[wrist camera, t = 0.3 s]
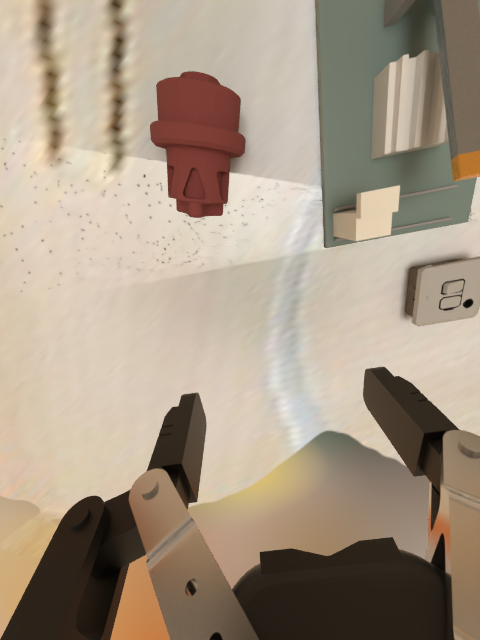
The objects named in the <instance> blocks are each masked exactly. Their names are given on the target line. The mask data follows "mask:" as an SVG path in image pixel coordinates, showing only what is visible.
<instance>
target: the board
mask: <svg viewBox="0 0 480 640" xmlns="http://www.w3.org/2000/svg"><path fill="white" fill-rule="evenodd" d="M478 6H479V16H480V0H478ZM316 28H317V57H318V86H319V114H320V143H321V171H322V200H323V229H324V247H325V248H330V247H335V246H340V245H346V244H351V243H356V242H362V241H367V240H373V239H378V238H383V237H389V236H394V235H399V234H405V233H410V232H415V231H421V230H426V229H431V228H437V227H442V226H447V225H453V224H458V223H464V222H468V219H469V214H470V209H471V204H472V199H473V194H474V188H475V183H476V178H477V177H475V178H469V179H464V180H459V181H454V182H453V174H452V165H451V156H450V147H449V138H448V130H447V121H446V112H445V103H444V94H443V85H442V76H441V67H440V58H439V49H438V40H437V32H436V23H435V14H434V5H433V0H316ZM399 185H400V194H399V206H398V211H397V212H392V224H391V235H387V236H382V237H376V238H371V239H365V240H360V241H352V240H348V239H344V238H339V237H335V236H333V213H338V212H344V211H349V210H354V209H356V203H357V194H358V193H363V192H368V191H373V190H378V189H383V188H388V187H393V186H399Z"/></svg>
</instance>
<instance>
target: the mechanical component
mask: <svg viewBox="0 0 480 640" xmlns="http://www.w3.org/2000/svg"><path fill="white" fill-rule="evenodd" d="M156 87H157V105H158V121H155V122H153V123H152V124H151V125H150V132H151V141H152V142H153V143H154V144H155V145H156V146H158V147H161V148H164V149H166V151H167V174H168V196H169V197H170V198H174V199H176V202H177V211H179V212H183V213H186V214H188V215H189V216H190V217H195V218H201V217H204V216H221V215H222V214H223V204H226V203H228V187H229V172H230V157H241V156H242V155H243V154H244V150H245V138H244V136H243V135H241V134H240V133H238V129H239V116H240V103H241V100H240V97H239V96H238V95H237V94H236V93H235V92H233V91H232V90H230V89H229V88H227V87H224V86H222V85H220V83H219V82H218V80H217V79H216V78H214V77H212V76H210V75H208V74H204V73H200V72H184V73H182V74H181V75H180V77H172V78H167V79H164V80H162V81H159V82H158V83H157V85H156Z"/></svg>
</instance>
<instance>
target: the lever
mask: <svg viewBox="0 0 480 640" xmlns="http://www.w3.org/2000/svg"><path fill="white" fill-rule="evenodd" d="M433 5H434V14H435V23H436V32H437V40H438V49H439V58H440V67H441V76H442V85H443V94H444V103H445V112H446V121H447V130H448V138H449V147H450V156H451V165H452V174H453V182H454V181H459V180H464V179H469V178H475V177H480V16H479V6H478V0H433Z"/></svg>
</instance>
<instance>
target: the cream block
mask: <svg viewBox="0 0 480 640" xmlns="http://www.w3.org/2000/svg"><path fill="white" fill-rule="evenodd" d="M399 194H400V185H399V186H393V187H388V188H383V189H378V190H373V191H368V192H363V193H358V194H357V203H356V209H354V210H349V211H344V212H338V213H333V236H335V237H339V238H344V239H348V240H352V241H360V240H365V239H371V238H376V237H382V236H387V235H391V224H392V212H397V211H398V206H399Z"/></svg>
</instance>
